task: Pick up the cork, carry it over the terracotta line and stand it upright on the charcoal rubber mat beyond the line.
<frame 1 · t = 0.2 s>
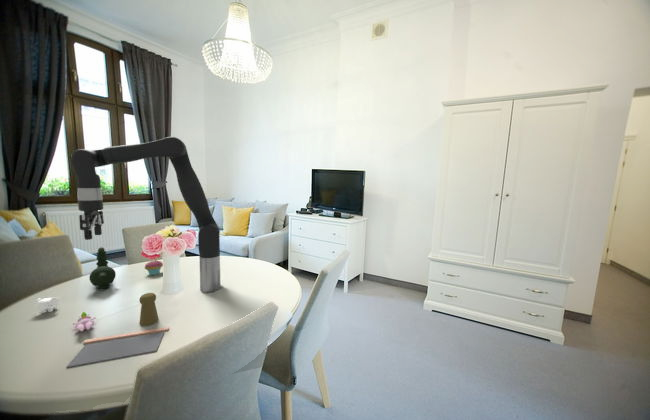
hand: (93, 237, 104), 29 cm above the table, tool pointing down, fingers open, 8 cm apart
cork: (149, 321, 95), on the table
cupcake: (154, 273, 141), on the table
dark green rounded piece: (103, 285, 124), on the table
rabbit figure: (85, 328, 90), on the table
throw line: (128, 335, 86), on the table
elephant figurine: (48, 311, 99), on the table
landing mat: (120, 348, 80), on the table
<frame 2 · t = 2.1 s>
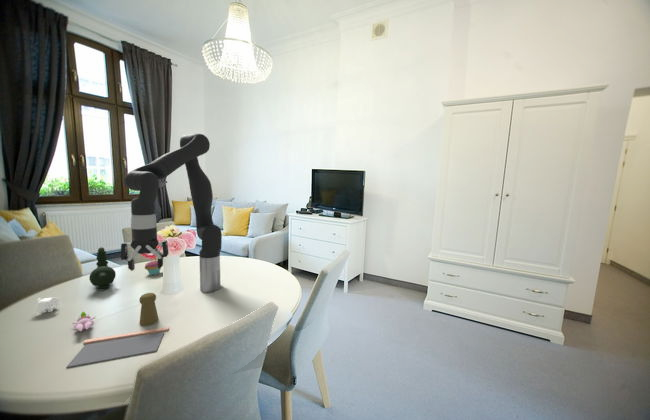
hand: (146, 268, 92), 21 cm above the table, tool pointing down, fingers open, 8 cm apart
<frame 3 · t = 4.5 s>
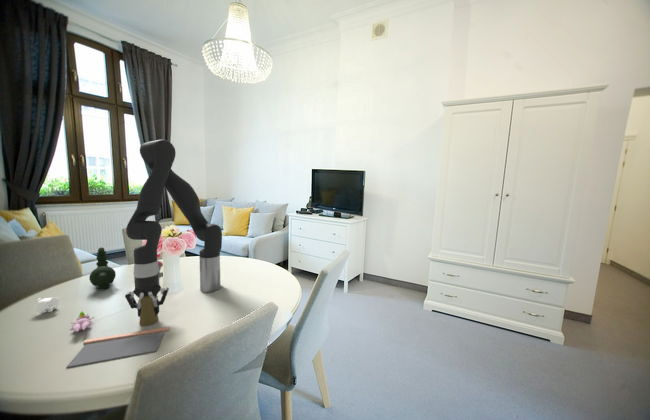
hand: (148, 315, 95), 2 cm above the table, tool pointing down, fingers closed on cork, 4 cm apart
cork: (149, 321, 95), on the table, touching gripper
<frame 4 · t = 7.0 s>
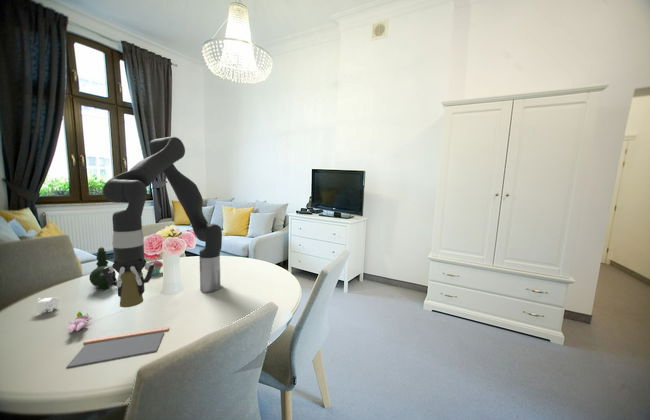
hand: (131, 295, 79), 17 cm above the table, tool pointing down, fingers closed on cork, 4 cm apart
cork: (131, 303, 79), point 15 cm above the table, touching gripper
when the fingers open (4 cm above the table, at t = 9.8 s): cork drops 1 cm, resting on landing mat.
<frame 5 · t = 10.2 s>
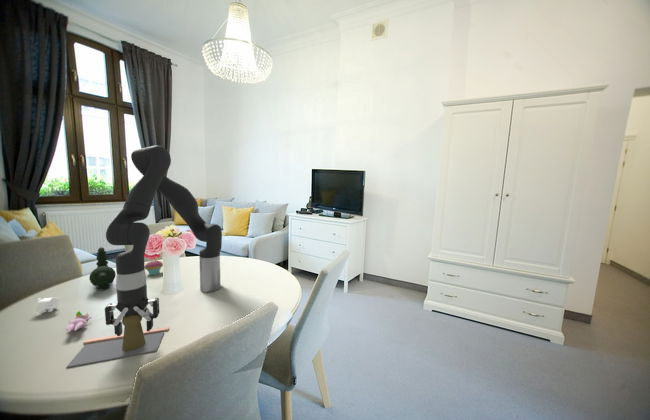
hand: (134, 332, 81), 5 cm above the table, tool pointing down, fingers open, 7 cm apart
cork: (134, 345, 81), resting on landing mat
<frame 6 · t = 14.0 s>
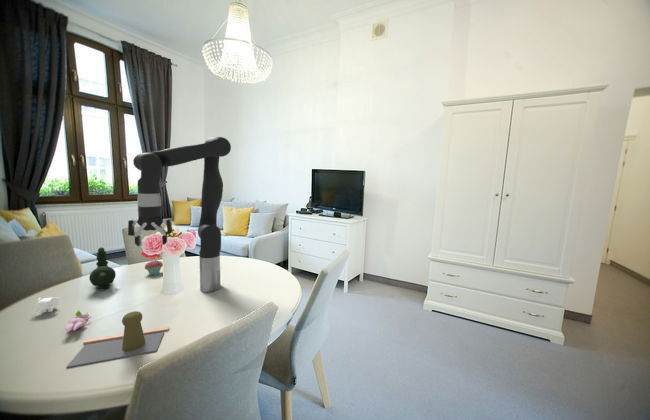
hand: (151, 244, 99), 28 cm above the table, tool pointing down, fingers open, 8 cm apart
at the end: cork inside the target area (3.6 cm from its centre), resting on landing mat; cork tilted 0°; the gripper is holding nothing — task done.
